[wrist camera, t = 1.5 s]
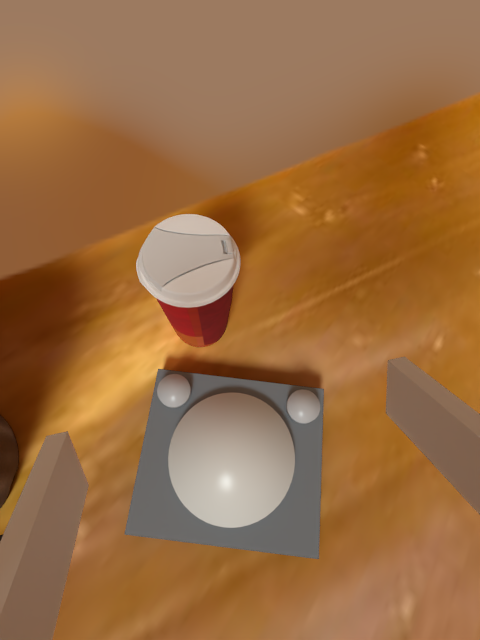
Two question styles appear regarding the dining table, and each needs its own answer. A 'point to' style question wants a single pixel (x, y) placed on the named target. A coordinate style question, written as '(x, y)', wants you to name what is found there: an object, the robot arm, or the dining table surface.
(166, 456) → the grey flat block
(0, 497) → the plant pot
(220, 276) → the paper cup
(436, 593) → the dining table surface
